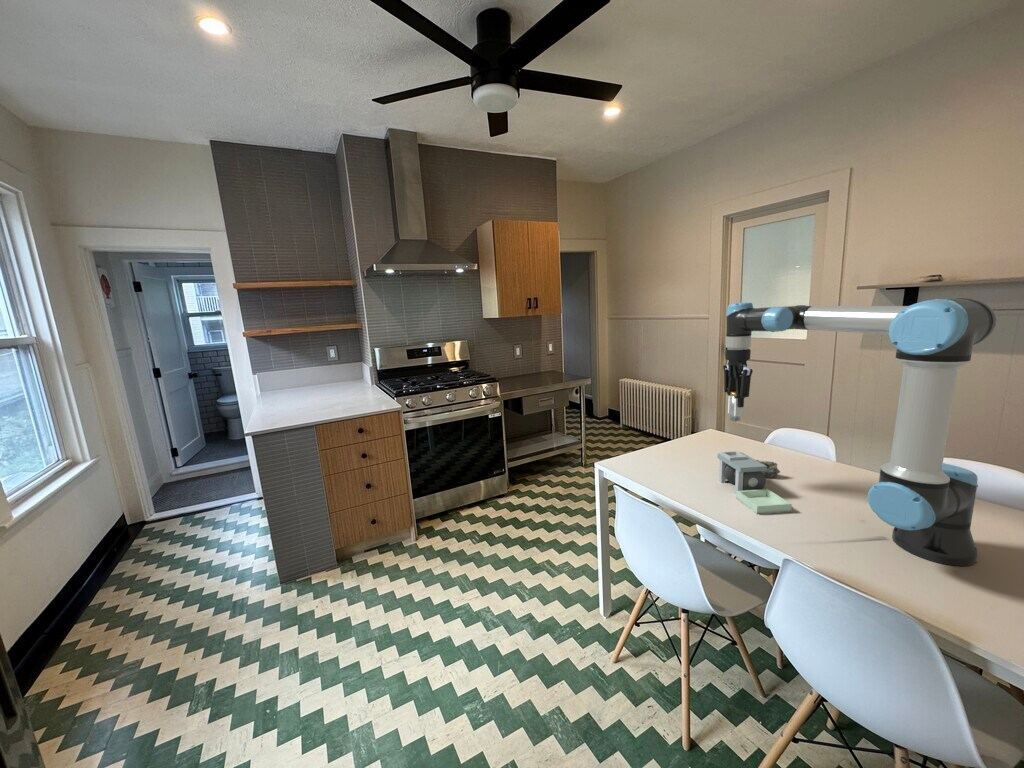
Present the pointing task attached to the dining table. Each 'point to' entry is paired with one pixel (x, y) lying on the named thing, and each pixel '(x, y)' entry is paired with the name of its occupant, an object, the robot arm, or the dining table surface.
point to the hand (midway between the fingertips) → (735, 414)
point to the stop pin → (732, 417)
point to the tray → (763, 501)
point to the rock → (770, 469)
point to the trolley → (741, 471)
